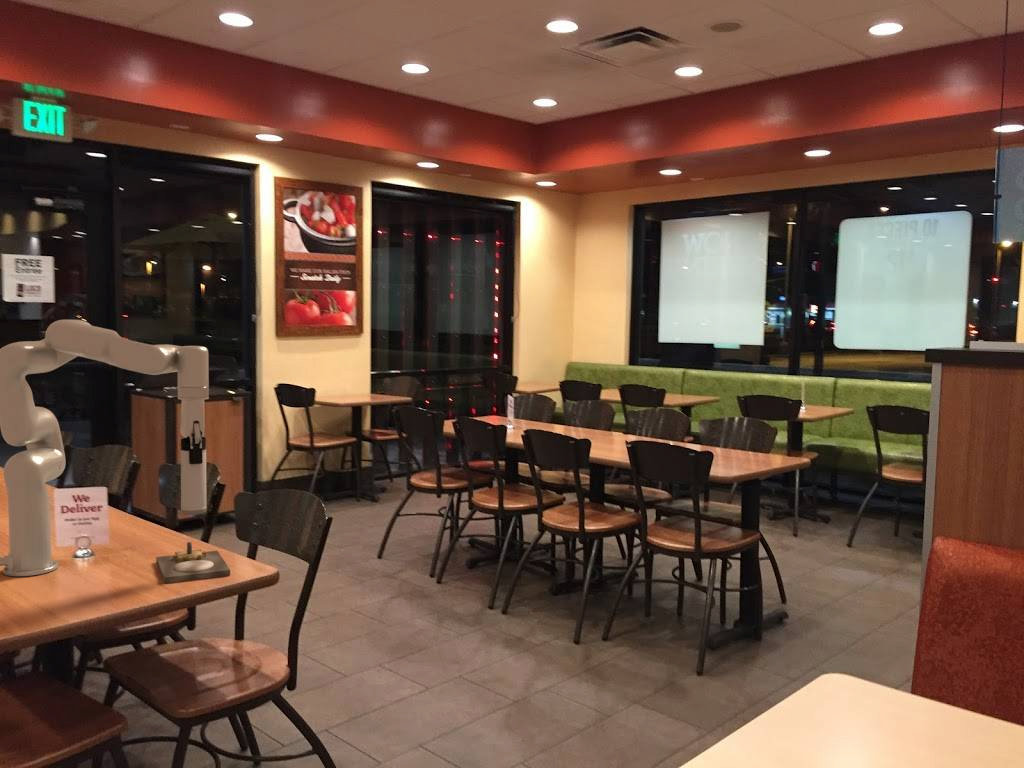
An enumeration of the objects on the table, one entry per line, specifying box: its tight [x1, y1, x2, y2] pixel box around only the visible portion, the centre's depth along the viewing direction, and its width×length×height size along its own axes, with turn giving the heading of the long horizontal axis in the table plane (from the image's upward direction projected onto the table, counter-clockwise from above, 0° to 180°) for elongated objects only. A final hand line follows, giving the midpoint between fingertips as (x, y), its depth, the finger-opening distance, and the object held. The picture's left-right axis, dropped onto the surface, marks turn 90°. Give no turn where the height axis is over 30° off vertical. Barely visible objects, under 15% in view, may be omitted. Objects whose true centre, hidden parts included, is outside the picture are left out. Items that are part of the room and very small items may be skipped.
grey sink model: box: [155, 541, 231, 584], centre depth 225 cm, size 16×20×6 cm
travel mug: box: [180, 436, 207, 516], centre depth 220 cm, size 6×7×20 cm
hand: (193, 461), depth 220 cm, fingers closed on travel mug, 6 cm apart
